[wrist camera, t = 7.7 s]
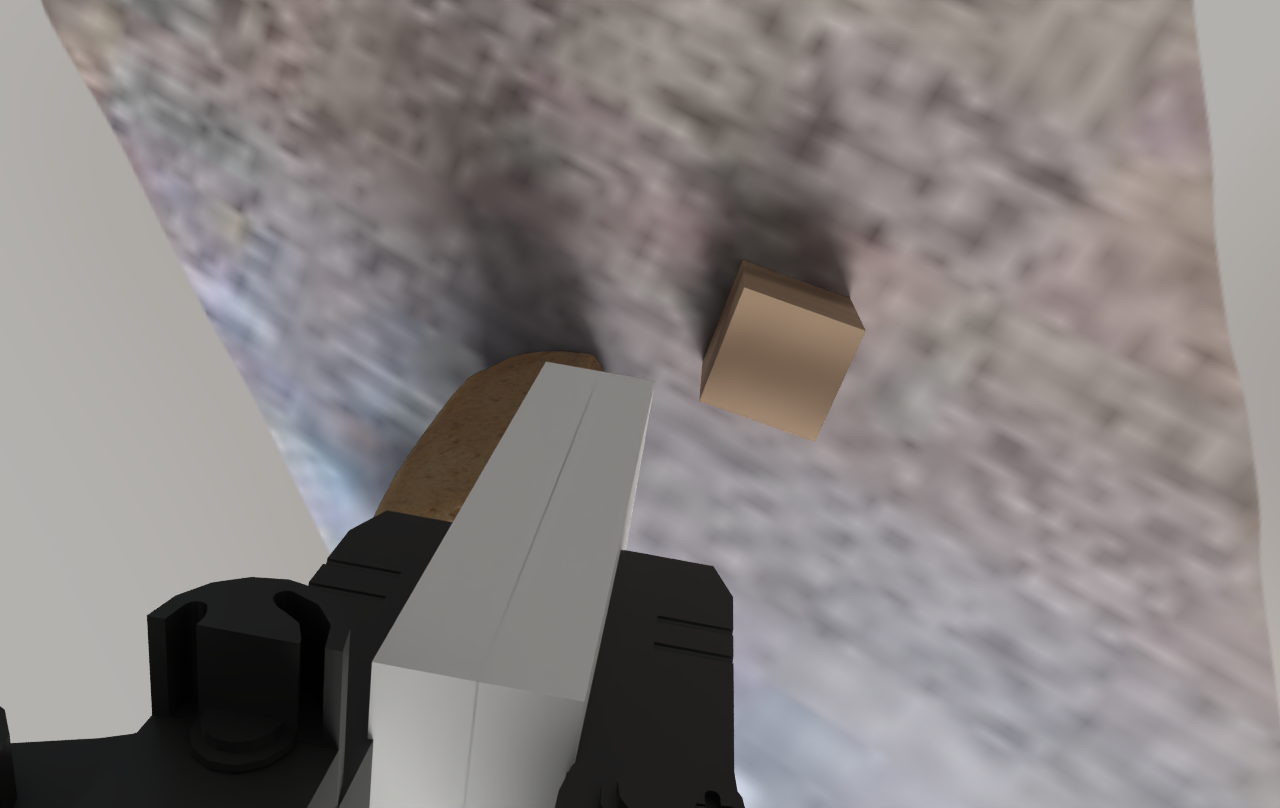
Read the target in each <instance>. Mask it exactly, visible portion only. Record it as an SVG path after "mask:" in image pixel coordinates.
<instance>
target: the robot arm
mask: <svg viewBox="0 0 1280 808" xmlns="http://www.w3.org/2000/svg"><path fill="white" fill-rule="evenodd" d="M654 385H655V381H652V380H647V379H641V378H635V377H630V376H624V375H618V374H613V373H607V372H602V371H596V370H590V369H585V368H579V367H573V366H568V365H562V364H556V363H551V362H545V364H544V366H543V368H542V369H541V371H540V373H539V375H538V376H537V378H536V380H535V381H534V383H533V385H532V387H531V388H530V390H529V392H528V394H527V395H526V397H525V399H524V400H523V402H522V404H521V406H520V407H519V409H518V411H517V413H516V414H515V416H514V418H513V419H512V421H511V423H510V425H509V426H508V428H507V430H506V432H505V433H504V435H503V437H502V438H501V440H500V442H499V444H498V445H497V447H496V449H495V450H494V452H493V454H492V456H491V457H490V459H489V461H488V463H487V464H486V466H485V468H484V469H483V471H482V473H481V475H480V476H479V478H478V480H477V482H476V483H475V485H474V487H473V488H472V490H471V492H470V494H469V495H468V497H467V499H466V501H465V502H464V504H463V506H462V507H461V509H460V511H459V513H458V514H457V516H456V518H455V520H454V521H453V522H448V521H443V520H438V519H432V518H427V517H421V516H416V515H410V514H405V513H399V512H394V511H388V510H386V511H385V512H383V513H381V514H379V515H377V516H375V517H373V518H372V519H370V520H368V521H366V522H364V523H362V524H360V525H359V526H357V527H355V528H353V529H351V530H349V532H348V533H347V534H346V535H345V537H344V538H343V539H342V541H341V542H340V543H339V544H338V546H337V547H336V548H335V549H334V551H333V552H332V553H331V555H330V556H329V557H328V559H327V563H326V564H323V565H322V566H321V567H320V569H319V570H318V571H317V572H316V574H315V575H314V577H313V578H312V579H311V580H310V581H309V585H308V586H307V585H304V584H301V583H298V582H295V581H292V580H287V579H272V578H256V577H249V578H241V579H234V580H227V581H220V582H213V583H210V584H207V585H204V586H201V587H198V588H196V589H193V590H190V591H187V592H184V593H182V594H179V595H176V596H174V597H173V598H172V599H170V600H169V601H167V602H166V603H164V604H163V605H161V606H160V607H159V608H157V609H156V610H154V611H153V612H151V613H150V614H149V615H147V623H148V644H149V663H150V682H151V700H152V716H151V717H150V718H149V719H148V720H147V722H146V723H145V724H144V725H143V726H142V727H141V729H140V730H139V731H138V732H137V733H134V734H129V735H121V736H113V737H106V738H96V739H78V740H61V741H43V742H26V743H10V735H9V730H8V725H7V719H6V714H5V710H4V709H3V708H2V707H0V808H745V807H744V803H743V799H742V797H741V795H740V794H739V793H738V792H737V786H736V780H735V774H734V681H733V663H732V662H733V636H732V633H733V596H732V595H731V593H730V592H729V590H728V589H727V587H726V585H725V584H724V582H723V581H722V579H721V578H720V576H719V574H718V573H717V571H716V570H715V568H714V567H713V566H709V565H703V564H698V563H692V562H687V561H681V560H676V559H670V558H665V557H659V556H654V555H648V554H643V553H637V552H632V551H626V548H627V542H628V536H629V530H630V525H631V519H632V513H633V507H634V501H635V496H636V490H637V484H638V478H639V472H640V466H641V461H642V455H643V449H644V443H645V437H646V431H647V426H648V420H649V414H650V408H651V402H652V396H653V391H654Z"/></svg>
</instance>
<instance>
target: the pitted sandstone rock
mask: <svg viewBox="0 0 1280 808" xmlns="http://www.w3.org/2000/svg"><path fill="white" fill-rule="evenodd" d="M545 362H551V363H556V364H562V365H568V366H573V367H579V368H585V369H590V370H596V371H602V372H604V371H603V368H602V366H601V364H600V363H599V361H598V360H597V359H596V357H594V356H592V355H590V354H587V353H572V352H568V351H543V352H532V353H525V354H521V355H516V356H514V357H511V358H508V359H506V360H504V361H502V362H500V363H497V364H496V365H494V366H492V367H490V368H488V369H486V370H483V371H480V372H478V373H476V374H474V375H473V376H471V377H470V378H468V379H467V380H466V382H465V383H464V384H463V385H462V386H461V387H460V388H459V389H458V390H457V391H456V392H455V393H454V394H453V395H452V397H451V398H450V399H449V401H448V402H447V403H446V404H445V406H444V407H443V409H442V410H441V411H440V412H439V413H438V415H437V416H436V418H435V419H434V421H433V422H432V423H431V425H430V426H429V427H428V428H427V430H426V431H425V433H424V434H423V435H422V437H421V438H420V439H419V441H418V442H417V444H416V446H415V447H414V448H413V450H412V451H411V453H410V454H409V455H408V457H407V459H406V460H405V462H404V464H403V466H402V467H401V468H400V469H399V471H398V472H397V473H396V475H395V477H394V479H393V481H392V483H391V484H390V486H389V488H388V490H387V492H386V493H385V495H384V497H383V499H382V501H381V503H380V505H379V507H378V509H377V511H376V513H375V515H374V517H375V516H377V515H379V514H381V513H383V512H385V511H386V510H388V511H394V512H399V513H405V514H410V515H416V516H421V517H427V518H432V519H438V520H443V521H448V522H453V521H454V520H455V518H456V516H457V514H458V513H459V511H460V509H461V507H462V506H463V504H464V502H465V501H466V499H467V497H468V495H469V494H470V492H471V490H472V488H473V487H474V485H475V483H476V482H477V480H478V478H479V476H480V475H481V473H482V471H483V469H484V468H485V466H486V464H487V463H488V461H489V459H490V457H491V456H492V454H493V452H494V450H495V449H496V447H497V445H498V444H499V442H500V440H501V438H502V437H503V435H504V433H505V432H506V430H507V428H508V426H509V425H510V423H511V421H512V419H513V418H514V416H515V414H516V413H517V411H518V409H519V407H520V406H521V404H522V402H523V400H524V399H525V397H526V395H527V394H528V392H529V390H530V388H531V387H532V385H533V383H534V381H535V380H536V378H537V376H538V375H539V373H540V371H541V369H542V368H543V366H544V364H545Z"/></svg>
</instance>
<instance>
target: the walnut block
mask: <svg viewBox="0 0 1280 808" xmlns="http://www.w3.org/2000/svg"><path fill="white" fill-rule="evenodd" d="M864 333H865V328H864V326H863V324H862V322H861V320H860V318H859V316H858V314H857V312H856V310H855V307H854V305H853V303H852V301H851V299H850V298H848V297H845V296H842V295H839V294H837V293H834V292H831V291H828V290H825V289H823V288H820V287H817V286H814V285H812V284H809V283H806V282H803V281H800V280H798V279H795V278H792V277H789V276H787V275H784V274H781V273H778V272H775V271H773V270H770V269H767V268H764V267H762V266H759V265H756V264H753V263H750V262H748V261H745V260H742V263H741V265H740V268H739V270H738V273H737V275H736V278H735V280H734V283H733V286H732V288H731V291H730V293H729V296H728V298H727V301H726V304H725V306H724V309H723V311H722V314H721V316H720V319H719V321H718V324H717V327H716V329H715V332H714V334H713V337H712V339H711V342H710V345H709V347H708V350H707V352H706V355H705V357H704V360H703V364H702V376H701V388H700V400H699V401H701V402H704V403H707V404H710V405H712V406H715V407H718V408H721V409H724V410H727V411H729V412H732V413H735V414H738V415H741V416H744V417H746V418H749V419H752V420H755V421H758V422H761V423H763V424H766V425H769V426H772V427H775V428H778V429H780V430H783V431H786V432H789V433H792V434H795V435H797V436H800V437H803V438H806V439H809V440H812V441H814V442H815V441H816V438H817V436H818V434H819V432H820V430H821V428H822V425H823V423H824V421H825V419H826V417H827V414H828V412H829V410H830V408H831V406H832V403H833V401H834V399H835V397H836V395H837V393H838V390H839V388H840V386H841V384H842V382H843V379H844V377H845V375H846V373H847V371H848V368H849V366H850V364H851V362H852V360H853V357H854V355H855V353H856V351H857V349H858V347H859V344H860V342H861V340H862V338H863V336H864Z"/></svg>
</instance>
